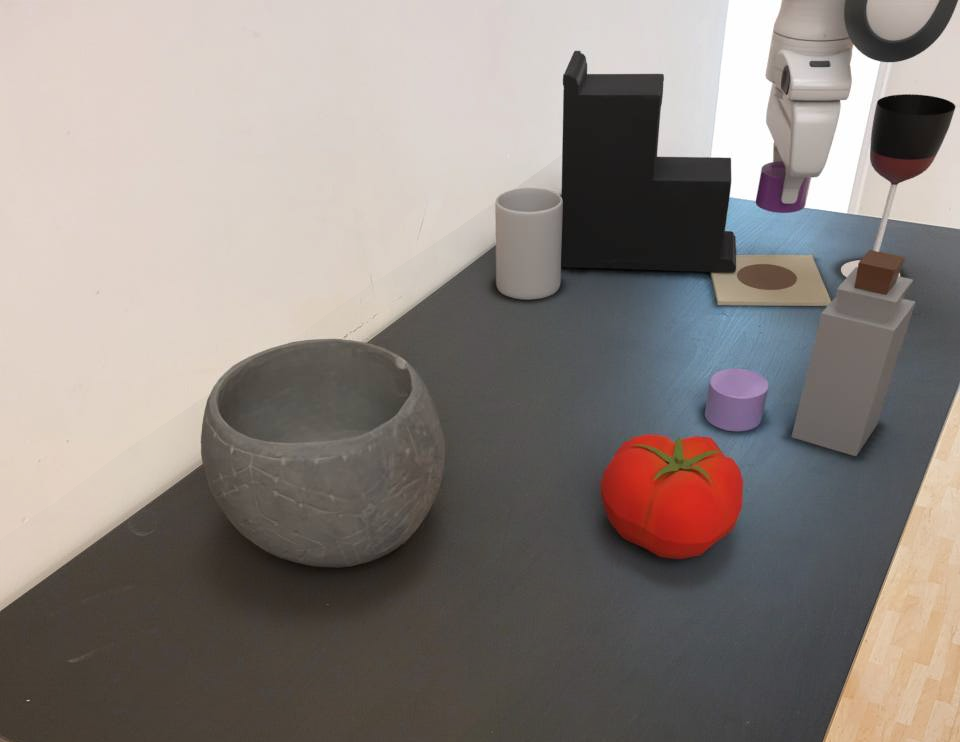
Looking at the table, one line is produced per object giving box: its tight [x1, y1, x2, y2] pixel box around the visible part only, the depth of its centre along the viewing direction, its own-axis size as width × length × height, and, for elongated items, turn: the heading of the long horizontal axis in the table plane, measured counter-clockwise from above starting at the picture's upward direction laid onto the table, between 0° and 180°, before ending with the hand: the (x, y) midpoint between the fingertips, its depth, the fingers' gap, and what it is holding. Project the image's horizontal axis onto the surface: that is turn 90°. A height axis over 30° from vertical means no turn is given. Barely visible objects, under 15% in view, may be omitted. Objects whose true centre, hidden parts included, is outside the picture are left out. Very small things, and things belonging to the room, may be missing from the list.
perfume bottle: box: [791, 249, 916, 457], centre depth 91 cm, size 7×7×18 cm
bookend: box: [560, 50, 737, 273], centre depth 120 cm, size 23×11×24 cm, turn 79°
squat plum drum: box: [755, 161, 812, 214], centre depth 114 cm, size 6×6×4 cm
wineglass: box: [840, 93, 957, 278], centre depth 117 cm, size 8×9×20 cm
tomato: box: [599, 433, 744, 560], centre depth 84 cm, size 14×13×9 cm
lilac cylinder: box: [704, 368, 770, 432], centre depth 99 cm, size 6×6×4 cm
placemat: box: [709, 254, 832, 307], centre depth 122 cm, size 14×14×1 cm
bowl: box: [200, 338, 447, 569], centre depth 83 cm, size 21×21×15 cm
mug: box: [494, 187, 563, 301], centre depth 121 cm, size 12×8×11 cm
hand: (782, 190), depth 115 cm, fingers closed on squat plum drum, 6 cm apart
